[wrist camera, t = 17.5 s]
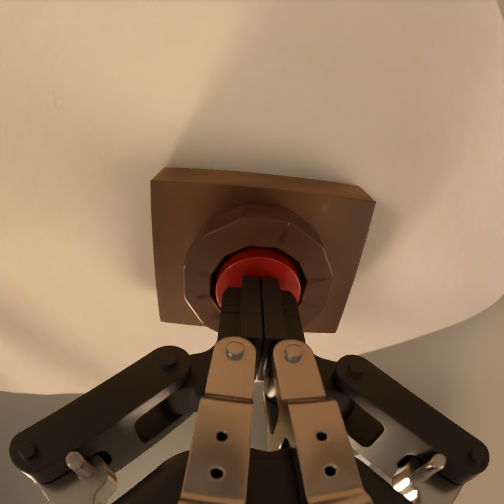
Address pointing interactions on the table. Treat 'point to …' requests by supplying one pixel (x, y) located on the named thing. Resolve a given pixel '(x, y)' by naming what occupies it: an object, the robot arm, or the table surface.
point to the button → (257, 269)
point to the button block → (254, 238)
